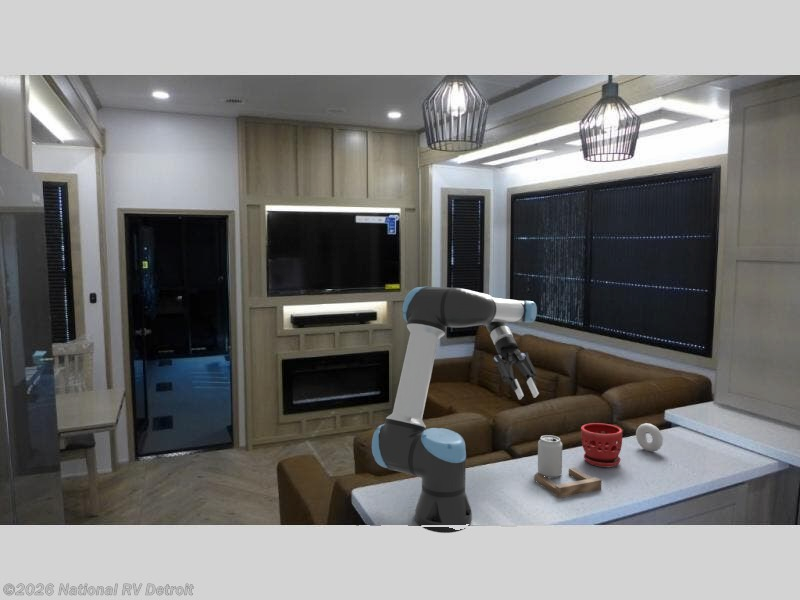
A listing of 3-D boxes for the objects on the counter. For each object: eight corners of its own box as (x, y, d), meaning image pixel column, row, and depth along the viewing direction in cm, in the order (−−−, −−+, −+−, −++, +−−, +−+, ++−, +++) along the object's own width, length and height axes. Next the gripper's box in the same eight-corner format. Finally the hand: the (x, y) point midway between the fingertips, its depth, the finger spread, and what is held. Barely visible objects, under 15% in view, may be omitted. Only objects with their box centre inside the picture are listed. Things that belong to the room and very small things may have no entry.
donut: (633, 447, 192) (634, 420, 192) (639, 445, 194) (640, 419, 193) (658, 456, 184) (659, 428, 183) (664, 454, 185) (665, 426, 185)
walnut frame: (559, 497, 153) (559, 488, 153) (534, 480, 165) (534, 471, 165) (601, 489, 158) (601, 480, 158) (573, 473, 170) (574, 464, 170)
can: (562, 479, 165) (563, 442, 164) (538, 478, 167) (538, 441, 166) (560, 470, 173) (561, 434, 172) (537, 468, 174) (537, 433, 173)
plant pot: (622, 458, 182) (623, 424, 181) (620, 472, 171) (621, 436, 169) (582, 452, 188) (583, 419, 187) (578, 466, 176) (579, 431, 175)
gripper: (521, 345, 199) (546, 399, 185) (478, 349, 193) (501, 405, 179) (529, 333, 194) (556, 388, 180) (485, 336, 187) (509, 393, 174)
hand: (528, 396), depth 179 cm, fingers open, 5 cm apart
